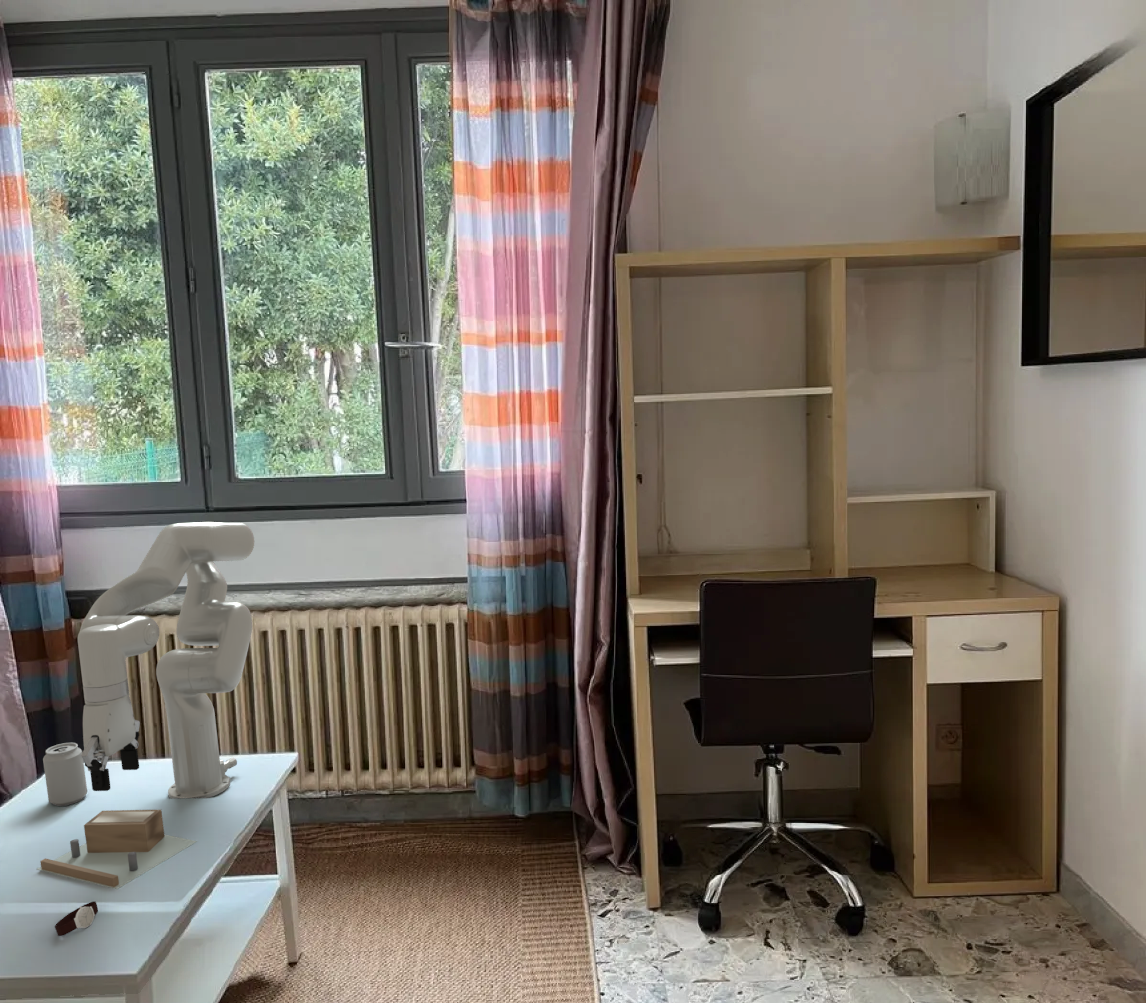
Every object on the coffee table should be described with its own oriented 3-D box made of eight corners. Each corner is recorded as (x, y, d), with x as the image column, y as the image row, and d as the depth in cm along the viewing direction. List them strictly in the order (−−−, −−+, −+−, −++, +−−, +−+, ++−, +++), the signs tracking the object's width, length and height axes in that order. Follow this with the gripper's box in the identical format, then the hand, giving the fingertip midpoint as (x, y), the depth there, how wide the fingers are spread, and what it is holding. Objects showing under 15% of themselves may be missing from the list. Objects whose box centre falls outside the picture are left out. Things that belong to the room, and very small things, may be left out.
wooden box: (105, 837, 186) (102, 810, 185) (164, 836, 184) (161, 809, 184) (87, 852, 180) (83, 824, 179) (148, 852, 178) (144, 823, 178)
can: (80, 789, 213) (73, 738, 211) (93, 798, 207) (86, 745, 206) (44, 801, 207) (36, 748, 206) (55, 811, 202) (48, 756, 201)
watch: (71, 941, 153) (68, 920, 152) (47, 938, 154) (44, 917, 153) (106, 914, 160) (104, 894, 160) (83, 912, 161) (80, 892, 161)
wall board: (120, 831, 191) (117, 811, 190) (197, 847, 182) (195, 826, 181) (37, 875, 175) (34, 853, 174) (117, 895, 166) (114, 872, 165)
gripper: (113, 678, 187) (123, 762, 189) (58, 707, 170) (69, 799, 172) (150, 677, 186) (159, 761, 188) (98, 706, 169) (109, 798, 171)
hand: (116, 779), depth 180 cm, fingers open, 9 cm apart
